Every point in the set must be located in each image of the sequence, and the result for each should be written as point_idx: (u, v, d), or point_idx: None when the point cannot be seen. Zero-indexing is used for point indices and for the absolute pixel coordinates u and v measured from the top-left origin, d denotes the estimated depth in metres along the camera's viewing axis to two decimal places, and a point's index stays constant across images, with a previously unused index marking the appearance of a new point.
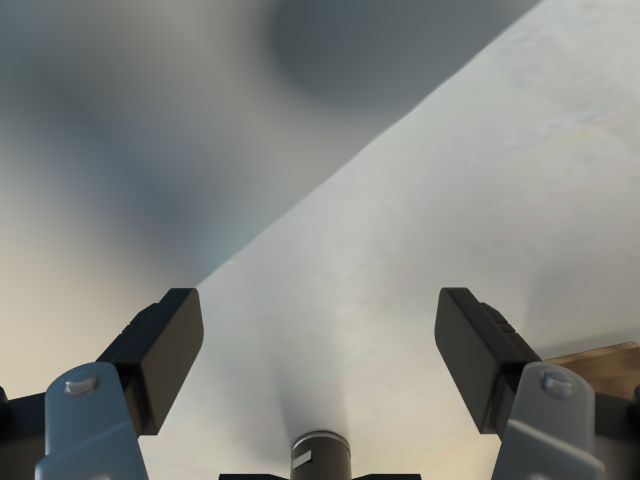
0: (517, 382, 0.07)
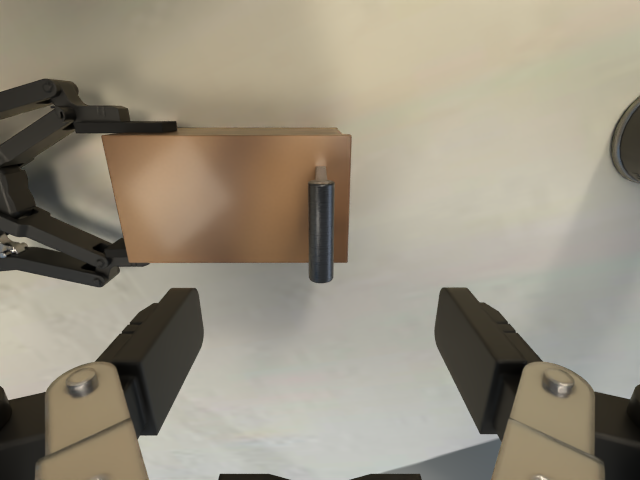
0: (517, 382, 0.07)
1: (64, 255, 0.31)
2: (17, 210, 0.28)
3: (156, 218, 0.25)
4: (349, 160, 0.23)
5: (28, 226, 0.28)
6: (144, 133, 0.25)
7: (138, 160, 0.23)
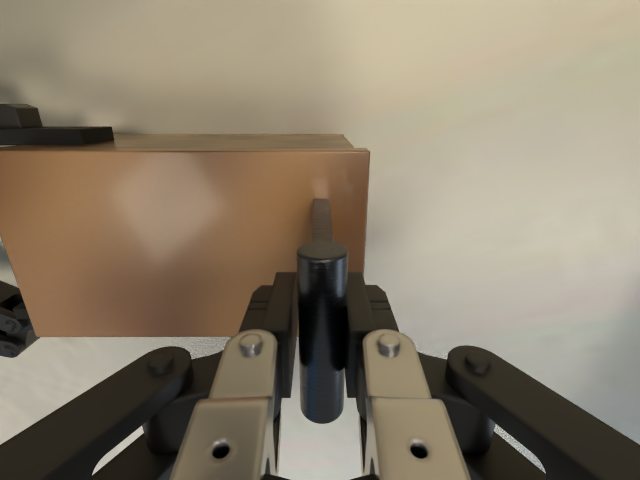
0: None
1: None
2: None
3: (71, 275, 0.16)
4: (366, 189, 0.15)
5: None
6: (50, 146, 0.16)
7: (34, 190, 0.15)
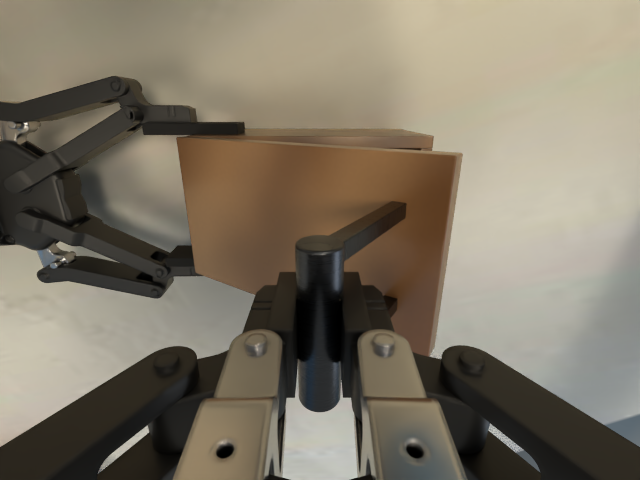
0: None
1: (116, 264, 0.29)
2: (72, 217, 0.26)
3: (216, 233, 0.22)
4: (448, 198, 0.13)
5: (84, 234, 0.26)
6: (220, 135, 0.23)
7: (202, 167, 0.21)
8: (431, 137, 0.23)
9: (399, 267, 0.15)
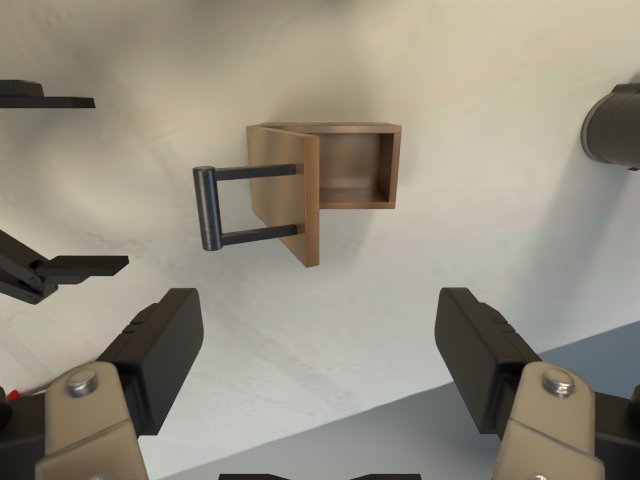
0: (517, 382, 0.07)
1: None
2: None
3: (256, 185, 0.36)
4: (304, 162, 0.23)
5: None
6: (271, 125, 0.38)
7: (252, 143, 0.35)
8: (400, 126, 0.37)
9: (296, 205, 0.25)
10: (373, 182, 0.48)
